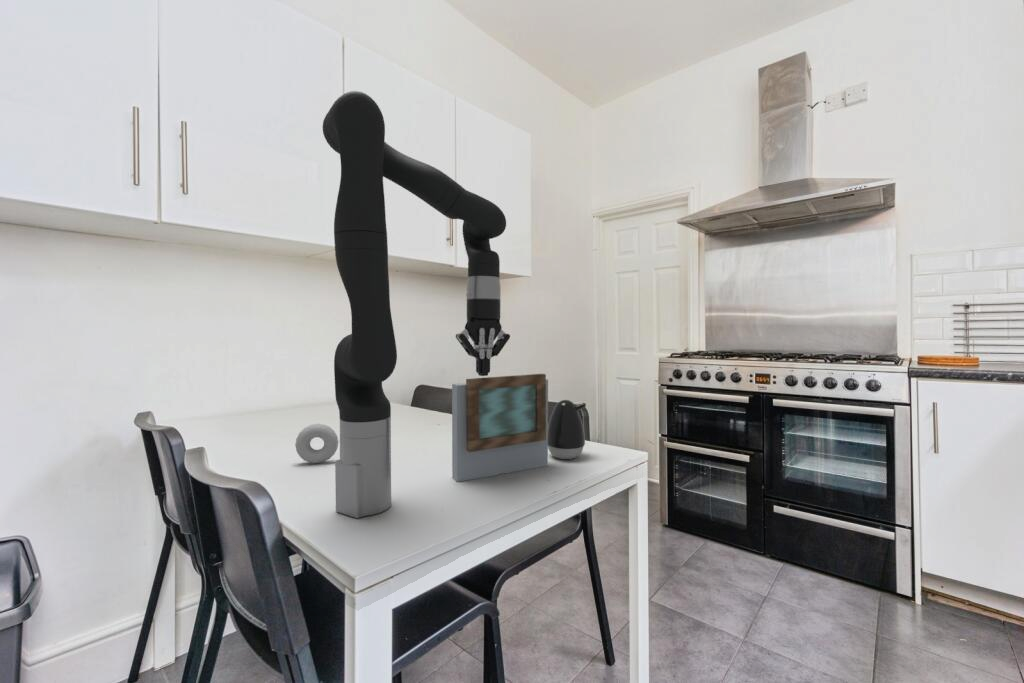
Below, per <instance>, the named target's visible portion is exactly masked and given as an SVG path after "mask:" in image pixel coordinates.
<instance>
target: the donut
mask: <svg viewBox="0 0 1024 683" xmlns="http://www.w3.org/2000/svg"><path fill="white" fill-rule="evenodd" d="M314 438H315V439H316V438H320V439H321V440H322V441H323V446H322V448H320V449H314V448H313V447H312V446H311V442H312V440H313V439H314ZM338 447H339V437H338V435H337V433H336V432H335V430H334V429H333V428H331V427H330V426H329V425H326V424H325V423H314V424H310V425H307V426H306V427H304V428H302V430H300V431H299V433H298V435H297V437H296V439H295V451H296V454H298V456H299V457H300V458H301V459H302V460H303V461H305V462H308V463H310V464H321V463H324V462H326V461H329V460H330V459H331V458H332V457H333V456H334V455H335V454H336V452H337V450H338Z"/></svg>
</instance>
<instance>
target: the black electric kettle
mask: <svg viewBox="0 0 1024 683" xmlns="http://www.w3.org/2000/svg"><path fill="white" fill-rule="evenodd" d="M586 406H587V404H586V403H585V402H583V403H579V404H576V405H575V403H574V402H573V401H571V400H569V399H562V400H560V401H558V402H557V403H556V404H555V406H554V408H553V411H552V412H551V415H550V418H549V420H548V451H549V453H550V454H551V456H554V458H557V459H559V460H564V459H569V460H574V459H576V458H578V457H579V456H580V455H581V454H582V452H583V449H584V446H585V445H586V438H585V437H586V436H585V431H584V429H585V428H584V424H583V421H582V418H581V415H580V412H579V410H582V409H583V408H585V407H586ZM573 458H574V459H573Z"/></svg>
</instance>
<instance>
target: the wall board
mask: <svg viewBox="0 0 1024 683" xmlns="http://www.w3.org/2000/svg"><path fill="white" fill-rule="evenodd" d="M451 386H452V387H451V392H452V393H451V395H452V396H451V399H452V400H451V405H452V406H451V410H452V411H451V414H452V415H451V419H452V420H451V426H452V429H451V432H452V433H451V434H452V435H451V448H452V449H451V452H452V453H451V454H452V455H451V456H452V463H451V464H452V465H451V467H452V468H451V471H452V474H451V475H452V477H451V478H452V479H453V480H454V481H455V482H464V481H469V480H475V479H481V478H485V477H486V478H487V477H492V476H498V475H503V474H508V473H515V472H520V471H525V470H533V469H537V468H541V467H542V466H543V467H547V465H548V464H549V463H548V461H549V460H548V459H549V456H548V454H549V453H548V451H549V449H548V425H549V379H547V378H546V440H544V441H537V442H531V443H525V444H518V445H512V446H505V447H499V448H493V449H486V450H480V451H474V452H469V451H467V418H466V382H463V383H452V385H451ZM548 466H549V465H548Z"/></svg>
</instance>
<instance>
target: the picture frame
mask: <svg viewBox="0 0 1024 683" xmlns="http://www.w3.org/2000/svg"><path fill="white" fill-rule="evenodd" d="M546 377H547V375H546V373H533V374H532V373H531V374H520V375H515V374H514V375H504V376H502V375H501V376H488V377H487V376H485V377H478V378H477V377H476V378H475V377H474V378H472V377H471V378H466V379H465V383H466V418H467V451H469V452H474V451H480V450H486V449H493V448H499V447H505V446H512V445H518V444H525V443H531V442H537V441H544V440H546V379H547V378H546Z"/></svg>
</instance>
